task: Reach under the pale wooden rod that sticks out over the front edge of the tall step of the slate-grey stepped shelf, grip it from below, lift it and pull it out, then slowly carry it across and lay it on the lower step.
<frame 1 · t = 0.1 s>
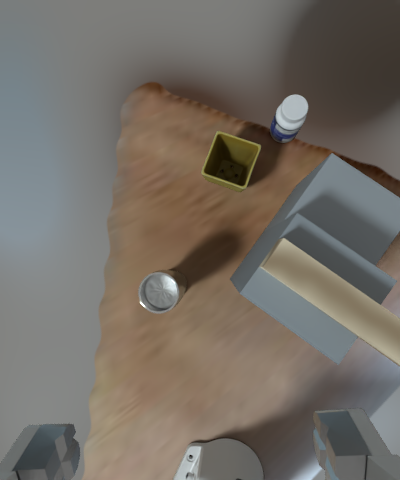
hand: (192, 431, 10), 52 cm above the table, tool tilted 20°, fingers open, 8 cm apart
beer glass: (172, 284, 63), on the table
stepped shelf: (291, 251, 62), on the table
pill bottle: (282, 131, 63), on the table
flower pot: (229, 173, 64), on the table
wooden rod: (353, 312, 35), point 26 cm above the table, touching stepped shelf
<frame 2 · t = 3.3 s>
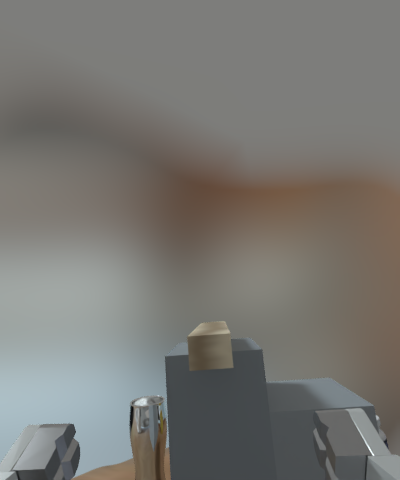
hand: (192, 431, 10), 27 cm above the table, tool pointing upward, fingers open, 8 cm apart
wooden rod: (213, 350, 39), point 26 cm above the table, touching stepped shelf
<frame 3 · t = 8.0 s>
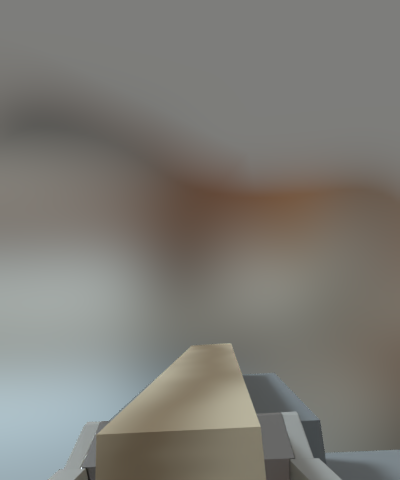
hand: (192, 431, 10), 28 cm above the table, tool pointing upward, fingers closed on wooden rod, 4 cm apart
wooden rod: (208, 414, 18), point 26 cm above the table, touching gripper, stepped shelf
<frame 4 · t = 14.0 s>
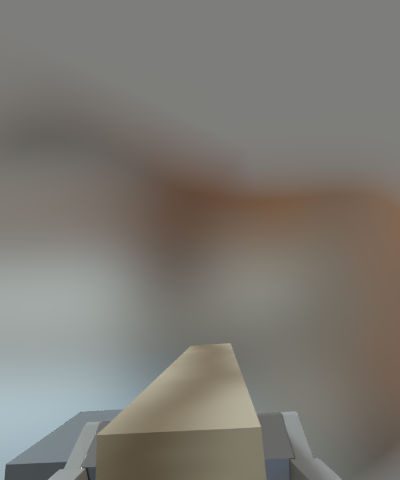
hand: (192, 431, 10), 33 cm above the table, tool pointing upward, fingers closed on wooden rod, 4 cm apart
wooden rod: (207, 414, 18), point 31 cm above the table, touching gripper
when the fingers open (22 cm above the table, at t = 20.1 s): wooden rod stays where it is, resting on stepped shelf.
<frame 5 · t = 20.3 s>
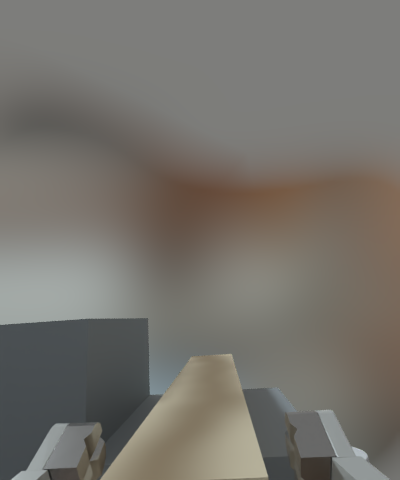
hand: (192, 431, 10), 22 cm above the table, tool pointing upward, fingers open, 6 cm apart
wooden rod: (209, 433, 18), point 19 cm above the table, touching stepped shelf
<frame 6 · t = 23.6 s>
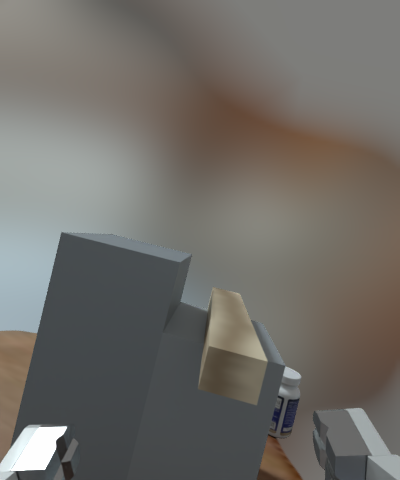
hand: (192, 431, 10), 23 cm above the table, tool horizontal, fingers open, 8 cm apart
stepped shelf: (135, 466, 36), on the table
pill bottle: (272, 429, 51), on the table
wooden rod: (223, 337, 32), point 19 cm above the table, touching stepped shelf
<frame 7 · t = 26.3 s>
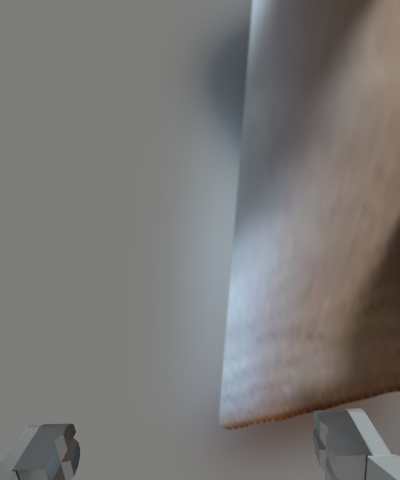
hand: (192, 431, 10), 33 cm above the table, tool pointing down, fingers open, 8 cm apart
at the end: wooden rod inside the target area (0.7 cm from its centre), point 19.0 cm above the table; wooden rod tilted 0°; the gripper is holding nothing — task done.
